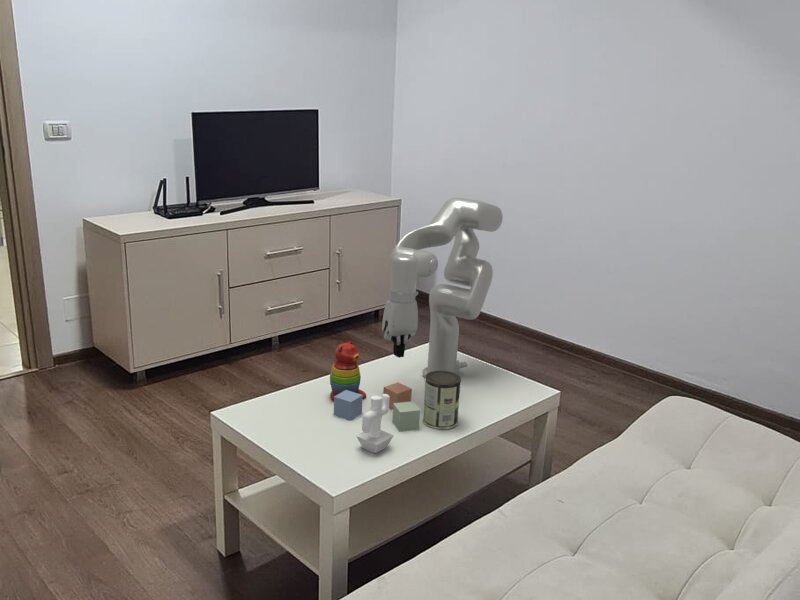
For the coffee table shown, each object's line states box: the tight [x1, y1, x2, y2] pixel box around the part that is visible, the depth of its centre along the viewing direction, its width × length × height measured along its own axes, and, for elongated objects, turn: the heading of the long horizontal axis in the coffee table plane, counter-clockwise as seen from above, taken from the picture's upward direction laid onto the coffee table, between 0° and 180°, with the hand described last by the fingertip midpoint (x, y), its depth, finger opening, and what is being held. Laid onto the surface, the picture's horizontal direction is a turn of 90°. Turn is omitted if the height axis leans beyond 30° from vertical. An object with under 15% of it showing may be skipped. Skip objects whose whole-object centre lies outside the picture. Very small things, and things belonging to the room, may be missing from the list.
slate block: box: [333, 390, 364, 421], centre depth 218 cm, size 6×6×6 cm
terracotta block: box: [382, 381, 413, 411], centre depth 225 cm, size 6×6×6 cm
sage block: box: [392, 400, 421, 432], centre depth 213 cm, size 6×6×6 cm
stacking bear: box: [329, 341, 367, 403], centre depth 226 cm, size 11×10×18 cm
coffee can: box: [422, 371, 462, 430], centre depth 215 cm, size 10×10×14 cm
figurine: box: [356, 394, 394, 454], centre depth 198 cm, size 7×9×15 cm
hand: (398, 355), depth 220 cm, fingers closed
